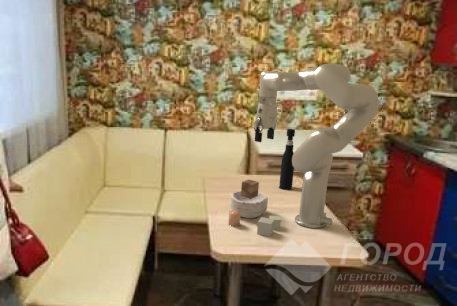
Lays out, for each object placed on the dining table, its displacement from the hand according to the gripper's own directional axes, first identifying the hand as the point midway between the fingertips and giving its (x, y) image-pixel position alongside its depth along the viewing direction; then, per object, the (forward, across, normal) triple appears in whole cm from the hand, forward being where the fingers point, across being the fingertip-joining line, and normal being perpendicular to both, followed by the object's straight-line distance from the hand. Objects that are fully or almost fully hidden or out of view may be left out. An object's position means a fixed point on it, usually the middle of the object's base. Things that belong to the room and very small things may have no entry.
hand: (264, 140), depth 183 cm
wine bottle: (+29, +27, +2) cm, 39 cm away
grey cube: (+28, -27, -20) cm, 44 cm away
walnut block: (+20, -16, -5) cm, 26 cm away
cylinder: (+28, -29, -8) cm, 41 cm away
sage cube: (+28, -20, -20) cm, 40 cm away
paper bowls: (+29, -16, -5) cm, 33 cm away
